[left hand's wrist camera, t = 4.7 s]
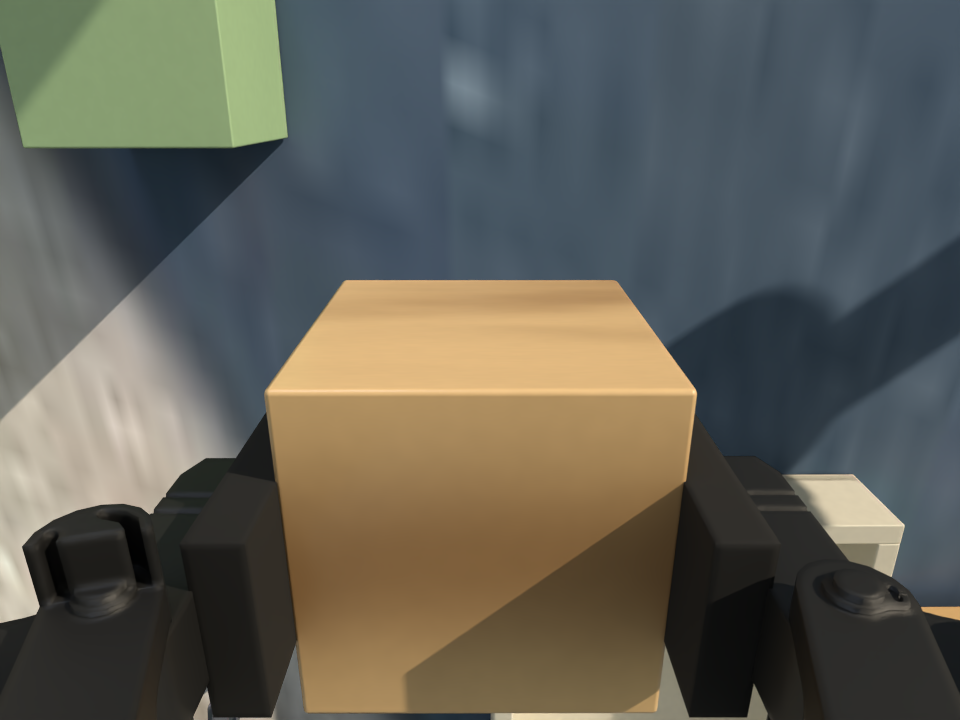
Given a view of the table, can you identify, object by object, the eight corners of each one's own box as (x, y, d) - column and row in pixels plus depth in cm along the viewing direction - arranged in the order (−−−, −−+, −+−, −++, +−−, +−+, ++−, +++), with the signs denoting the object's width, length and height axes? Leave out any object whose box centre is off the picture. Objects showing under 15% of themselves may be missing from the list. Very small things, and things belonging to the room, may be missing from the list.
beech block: (342, 279, 14) (261, 390, 9) (617, 279, 14) (699, 390, 9) (360, 512, 16) (302, 716, 11) (600, 512, 16) (658, 716, 11)
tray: (492, 475, 28) (497, 583, 21) (1196, 472, 28) (1403, 578, 22) (490, 742, 33) (494, 891, 27) (1084, 738, 33) (1225, 885, 27)
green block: (91, -50, 21) (-34, -100, 16) (270, -50, 21) (204, -100, 16) (123, 137, 23) (22, 148, 18) (288, 137, 23) (233, 148, 18)
